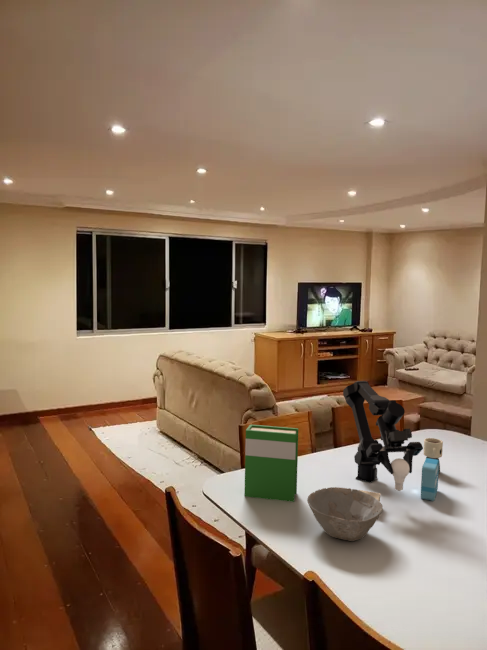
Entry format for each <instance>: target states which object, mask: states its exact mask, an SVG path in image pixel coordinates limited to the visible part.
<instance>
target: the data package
mask: <svg viewBox="0 0 487 650" xmlns="http://www.w3.org/2000/svg"><path fill="white" fill-rule="evenodd" d="M439 462H440V459H439V460H436V459H430V458H426V457H425V460H424V461H423V464H422V466H421V467H422V468H421V483H420V499H422V500H426V501H427V500H428V501H432V502H433V501H435V499H436V496H437V493H438V490H439V489H438V488H439V487H438V485H439V474H440V472H439Z"/></svg>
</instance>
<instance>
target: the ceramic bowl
mask: <svg viewBox="0 0 487 650" xmlns="http://www.w3.org/2000/svg"><path fill="white" fill-rule="evenodd" d="M359 490H360V489H354V488H353V489H351V488H347V487H346V488H345V487H339V486H335V487H327V488H326V487H325V488H320V489H317V490H315V491H312V492H311V493H310V494H309V495H308V496H307V499H306V501H307V503H308V506H309V508H310V510H311V513H312V514H313V516H314V518H315V519H316V522H318V524H319V525H320V527H321V528H322V530H323V531H324V532H325V533H326V534H327V535H329V536H330V537H332V538H336V539H337V540H338V539H340V540H343V541H349V542H354V541H358V540H360V539H363V538H364V536H366V535H367V534H368V533H369V531H370V529H372V528H373V526H374V525H375V523H376V522H377V520H378V519H379V517H380V515H381V513H382V512H383V509H384V508H383V507H384V506H383V504H382V502H381V501H380V502H379V501H378V500H377V499H376V498H375V497H373V496H371V495H369V494H367V493H364V492H362V491H359Z"/></svg>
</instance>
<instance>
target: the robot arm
mask: <svg viewBox="0 0 487 650" xmlns="http://www.w3.org/2000/svg"><path fill="white" fill-rule="evenodd" d="M342 394H343V395H342V396H343V398H344V399H345V402H346V404H347V405H348V406H349V407H350V408H351V411H352V415H353V418H354V422H355V428H356V431H357V435H358V439H359V443H358V446H357V451H356V453H355V454H354V462H355V463H356V464H357V476H356V477H355V480H358V481H359V480H360V481H363V482H366V483H374V481H376V480H378V467H377V466H378V465H379V466H380V465H382V466H384V468H385V469H386V470H387V471H388V473H389V474H390V475H393V469H392V466H391V460H390V458H389V457H390V456H389V453H403V457H402V459H404V460H405V461H407V463H408V464H409V467H410V471H409V474H412V473H413V457H414V456H418V455H419V454H420V453H421V452H422V451H423V450H424V445H423V444H422V443H421V442H420V441H409V439H412V438H413V435H412V434H413V433H412V429H410V428H403V429H402V430H399V429H397V427H396V425H397V424H398V423H399V422H400V420H401V419H402V417H403V416H404V415H405V412H406V411H405V408H404V407H403V406H402V404H400V403H398V402H397V400H393V399H392V400H391V399H389V398H387V397H385V396H381V395H380V394H378V392H376V391H375V390H374V389H373V387H372V386H371V385H370V383H369V382H368V381H366V380H357V381H354V383H352V384H349V385H347V386H345V388H344V389H343V391H342ZM365 401H366V402H367V404H368V410H369V412H370V413H371V415H372V416H379V417H377V419H376V422H375V426H378V429H379V433H380V437H379V439H380V441H382V443H383V444H382V443H380V442H379V441H378V439H374V438H373V437H372V432H371V429H370V425H369V421H368V417H367V414H366V409H365V406H364V404H365ZM405 441H409V443H408V444H407V445H404V444H405Z"/></svg>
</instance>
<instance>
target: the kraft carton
mask: <svg viewBox="0 0 487 650" xmlns="http://www.w3.org/2000/svg"><path fill="white" fill-rule="evenodd" d="M358 490H359V491H362V492H364V493H367V494H369V495H371V496H373V497H375V498H376V499H377V500H378V501H379V502H380V503H381V493H380V492H376V491H375V492H373V491H368V490H361V489H358Z"/></svg>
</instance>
